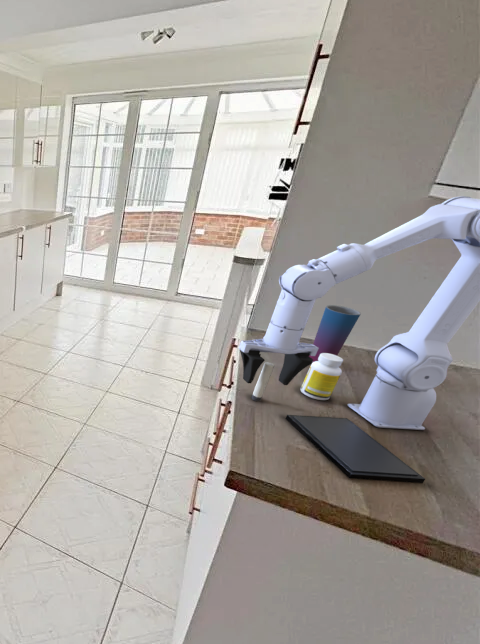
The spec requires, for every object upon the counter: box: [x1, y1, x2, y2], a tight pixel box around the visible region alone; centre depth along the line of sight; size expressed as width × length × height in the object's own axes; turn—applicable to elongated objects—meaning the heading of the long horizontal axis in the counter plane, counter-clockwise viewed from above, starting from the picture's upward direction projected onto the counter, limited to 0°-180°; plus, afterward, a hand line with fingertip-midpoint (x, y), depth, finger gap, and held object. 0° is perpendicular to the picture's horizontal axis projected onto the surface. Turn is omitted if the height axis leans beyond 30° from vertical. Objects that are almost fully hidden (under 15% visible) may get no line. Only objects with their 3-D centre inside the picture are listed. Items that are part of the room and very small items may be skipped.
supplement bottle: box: [300, 353, 344, 401], centre depth 92 cm, size 5×5×10 cm
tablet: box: [285, 414, 426, 484], centre depth 77 cm, size 12×17×1 cm
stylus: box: [250, 361, 275, 402], centre depth 89 cm, size 2×2×9 cm
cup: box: [309, 304, 362, 363], centre depth 106 cm, size 7×7×15 cm
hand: (264, 382), depth 89 cm, fingers open, 7 cm apart
